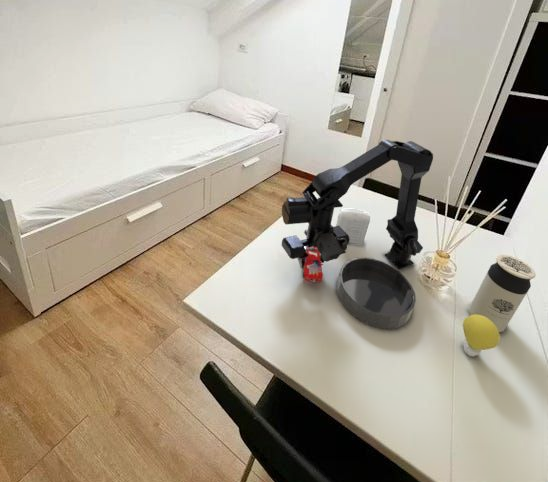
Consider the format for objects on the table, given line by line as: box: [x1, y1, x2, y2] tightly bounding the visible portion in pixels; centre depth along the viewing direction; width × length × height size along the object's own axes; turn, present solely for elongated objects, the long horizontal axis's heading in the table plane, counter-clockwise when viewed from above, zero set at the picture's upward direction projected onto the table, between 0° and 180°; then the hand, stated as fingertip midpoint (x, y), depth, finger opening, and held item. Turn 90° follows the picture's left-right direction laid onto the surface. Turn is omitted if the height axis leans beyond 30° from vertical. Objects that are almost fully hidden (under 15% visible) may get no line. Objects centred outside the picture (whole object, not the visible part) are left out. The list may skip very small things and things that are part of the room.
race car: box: [302, 247, 324, 284], centre depth 83 cm, size 13×5×4 cm, turn 177°
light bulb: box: [462, 314, 501, 357], centre depth 65 cm, size 7×7×10 cm
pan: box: [336, 257, 417, 330], centre depth 78 cm, size 19×19×4 cm
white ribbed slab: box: [335, 207, 371, 246], centre depth 97 cm, size 10×4×12 cm, turn 84°
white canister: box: [468, 254, 536, 333], centre depth 72 cm, size 8×8×18 cm
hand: (311, 264), depth 83 cm, fingers closed on race car, 6 cm apart
